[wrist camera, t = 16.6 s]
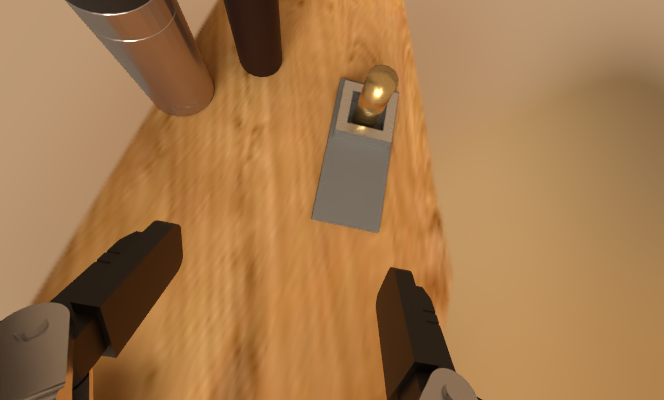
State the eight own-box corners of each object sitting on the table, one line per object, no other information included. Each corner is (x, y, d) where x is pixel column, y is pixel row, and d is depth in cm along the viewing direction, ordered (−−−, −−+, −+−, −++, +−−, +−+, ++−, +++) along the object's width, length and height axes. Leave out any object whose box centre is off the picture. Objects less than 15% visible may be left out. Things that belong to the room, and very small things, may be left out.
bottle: (287, 50, 46) (281, -104, 27) (274, 83, 44) (259, -57, 25) (248, 37, 46) (214, -128, 26) (234, 70, 44) (186, -82, 25)
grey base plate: (377, 232, 41) (379, 232, 40) (311, 219, 40) (311, 218, 39) (396, 95, 47) (398, 92, 46) (339, 81, 46) (341, 77, 45)
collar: (386, 149, 43) (391, 142, 41) (333, 136, 42) (335, 129, 40) (392, 102, 45) (398, 93, 43) (342, 89, 45) (345, 79, 42)
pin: (348, 111, 44) (362, 68, 34) (370, 105, 45) (391, 61, 35) (357, 133, 43) (374, 96, 33) (380, 127, 44) (403, 88, 34)
